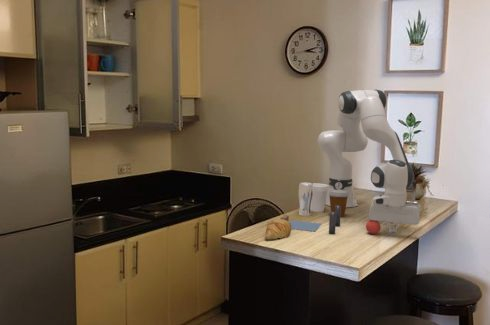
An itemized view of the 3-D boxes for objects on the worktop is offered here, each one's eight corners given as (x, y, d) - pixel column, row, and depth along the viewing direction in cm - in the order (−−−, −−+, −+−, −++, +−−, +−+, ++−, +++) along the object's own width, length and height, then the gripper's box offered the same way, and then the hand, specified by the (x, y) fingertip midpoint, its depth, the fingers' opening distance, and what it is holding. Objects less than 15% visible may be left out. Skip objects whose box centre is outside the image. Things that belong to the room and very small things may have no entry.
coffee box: (398, 214, 250) (400, 182, 248) (391, 211, 256) (393, 180, 254) (414, 213, 253) (416, 181, 251) (406, 210, 259) (408, 179, 257)
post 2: (334, 224, 228) (335, 205, 227) (340, 225, 227) (341, 205, 226) (333, 226, 226) (334, 206, 225) (339, 226, 225) (340, 206, 224)
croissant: (272, 251, 200) (282, 235, 198) (252, 235, 204) (261, 220, 201) (294, 236, 219) (302, 222, 216) (275, 223, 222) (283, 208, 219)
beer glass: (295, 213, 249) (296, 182, 247) (307, 212, 251) (308, 181, 249) (302, 216, 242) (303, 185, 240) (315, 215, 245) (316, 184, 243)
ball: (366, 231, 219) (367, 217, 218) (380, 232, 217) (381, 218, 216) (364, 234, 213) (365, 220, 213) (379, 236, 211) (380, 222, 211)
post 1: (329, 232, 216) (330, 211, 215) (335, 232, 215) (336, 212, 214) (328, 233, 214) (329, 212, 212) (334, 234, 213) (335, 213, 211)
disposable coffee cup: (334, 218, 240) (335, 193, 238) (323, 214, 248) (324, 189, 246) (351, 217, 243) (353, 192, 242) (340, 212, 252) (341, 188, 250)
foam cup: (330, 212, 252) (331, 186, 250) (312, 213, 249) (313, 187, 247) (321, 208, 261) (323, 183, 259) (305, 209, 258) (306, 183, 256)
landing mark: (291, 220, 234) (291, 220, 234) (321, 224, 229) (321, 223, 229) (283, 228, 221) (283, 227, 221) (315, 231, 216) (315, 231, 216)
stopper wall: (284, 220, 234) (284, 215, 234) (288, 221, 233) (288, 215, 233) (276, 226, 223) (277, 221, 222) (281, 227, 222) (281, 221, 222)
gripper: (421, 200, 210) (419, 233, 212) (370, 196, 217) (368, 228, 219) (421, 203, 205) (419, 237, 207) (369, 199, 211) (367, 231, 213)
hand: (392, 232), depth 213 cm, fingers closed
